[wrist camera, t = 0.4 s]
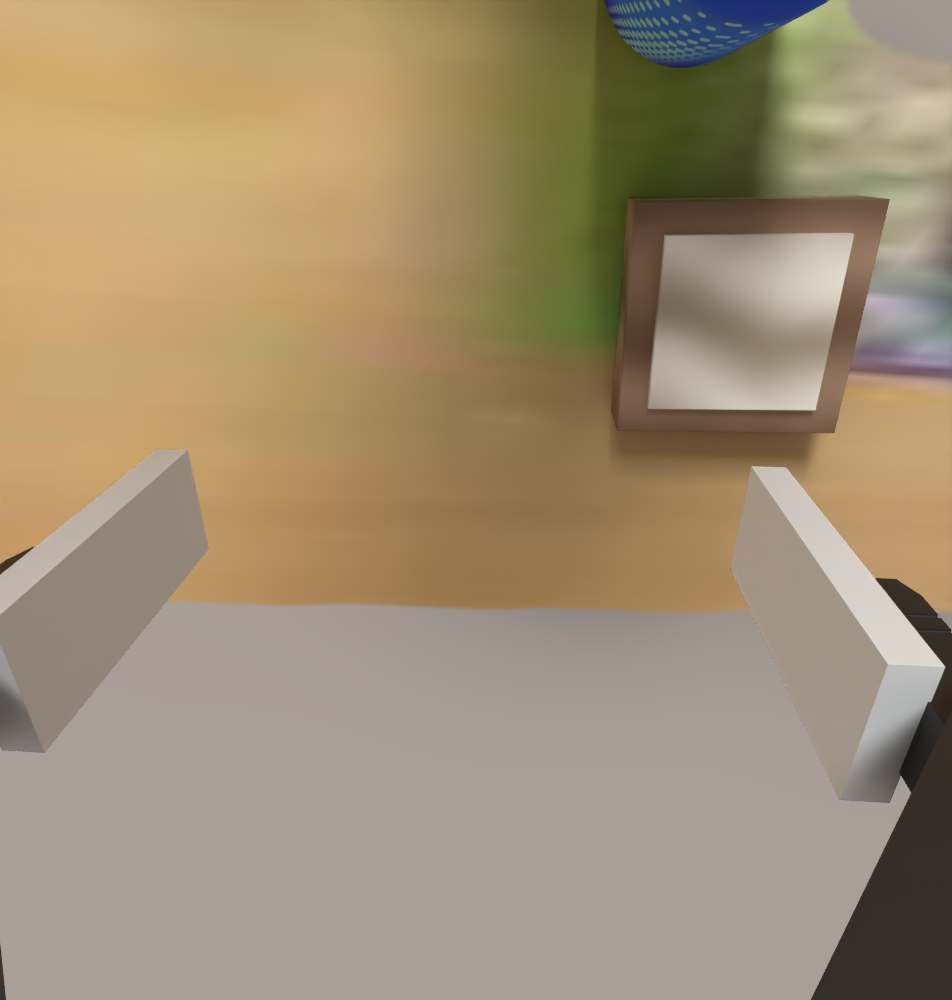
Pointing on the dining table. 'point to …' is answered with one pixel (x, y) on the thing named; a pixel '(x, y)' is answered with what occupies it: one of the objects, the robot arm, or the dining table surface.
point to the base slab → (741, 311)
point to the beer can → (699, 26)
